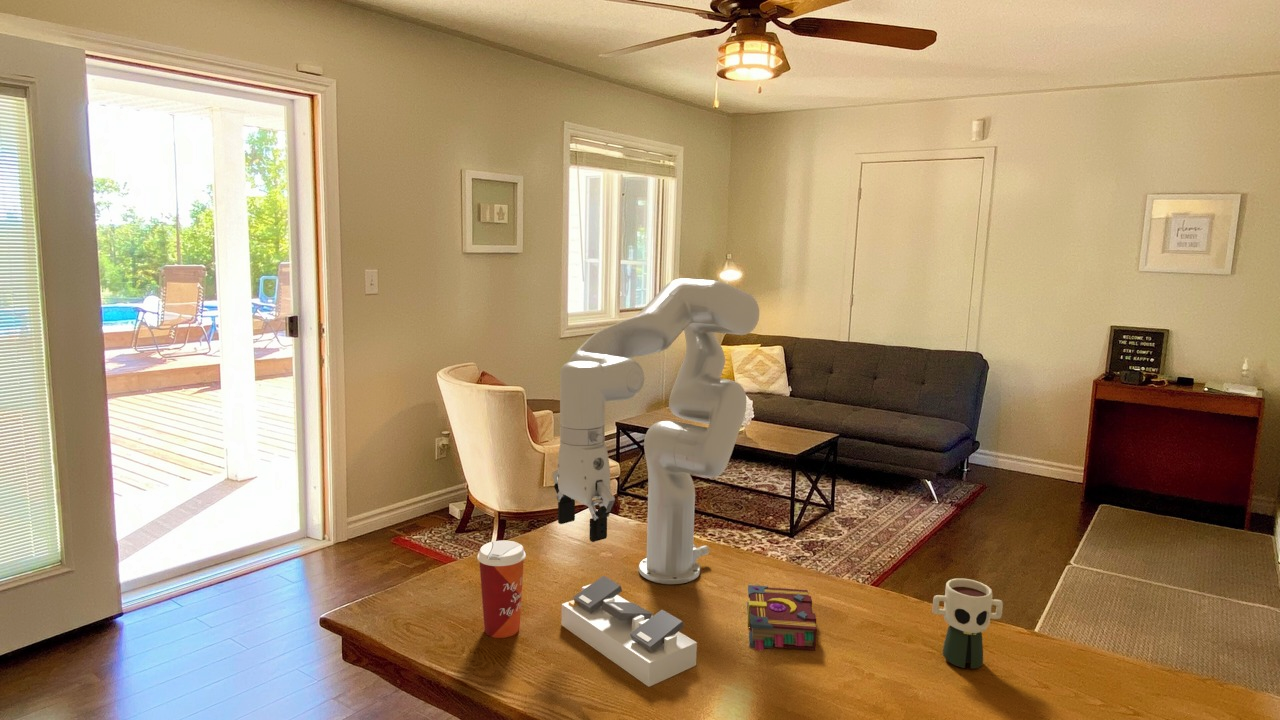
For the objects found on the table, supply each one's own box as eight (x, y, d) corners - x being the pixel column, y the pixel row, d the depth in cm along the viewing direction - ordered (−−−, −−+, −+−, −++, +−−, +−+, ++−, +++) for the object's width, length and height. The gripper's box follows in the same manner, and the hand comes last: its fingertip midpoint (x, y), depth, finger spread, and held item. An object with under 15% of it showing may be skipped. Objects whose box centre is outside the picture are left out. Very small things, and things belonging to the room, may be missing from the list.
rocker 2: (663, 616, 129) (661, 608, 129) (684, 628, 125) (682, 621, 125) (631, 641, 125) (629, 633, 125) (652, 654, 121) (650, 646, 121)
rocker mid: (631, 610, 135) (633, 601, 136) (650, 622, 132) (652, 613, 132) (600, 610, 131) (602, 600, 131) (619, 622, 127) (622, 612, 127)
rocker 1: (605, 582, 141) (603, 574, 141) (622, 592, 137) (620, 585, 137) (574, 603, 138) (572, 596, 137) (592, 615, 134) (589, 607, 133)
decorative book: (807, 611, 146) (809, 586, 145) (817, 657, 130) (819, 629, 129) (746, 607, 147) (747, 582, 146) (749, 652, 131) (750, 624, 130)
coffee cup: (516, 644, 131) (515, 560, 129) (470, 638, 133) (469, 555, 131) (532, 620, 139) (532, 541, 137) (489, 615, 141) (488, 536, 139)
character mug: (933, 669, 126) (939, 594, 124) (923, 647, 133) (929, 575, 131) (1003, 676, 125) (1011, 600, 123) (990, 652, 132) (997, 580, 130)
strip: (596, 602, 147) (597, 571, 146) (696, 665, 126) (697, 629, 125) (552, 618, 140) (552, 586, 139) (648, 686, 120) (649, 649, 119)
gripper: (631, 442, 127) (629, 541, 130) (572, 421, 141) (572, 511, 144) (593, 450, 123) (592, 552, 126) (536, 427, 136) (537, 520, 139)
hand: (581, 530), depth 135 cm, fingers open, 9 cm apart
